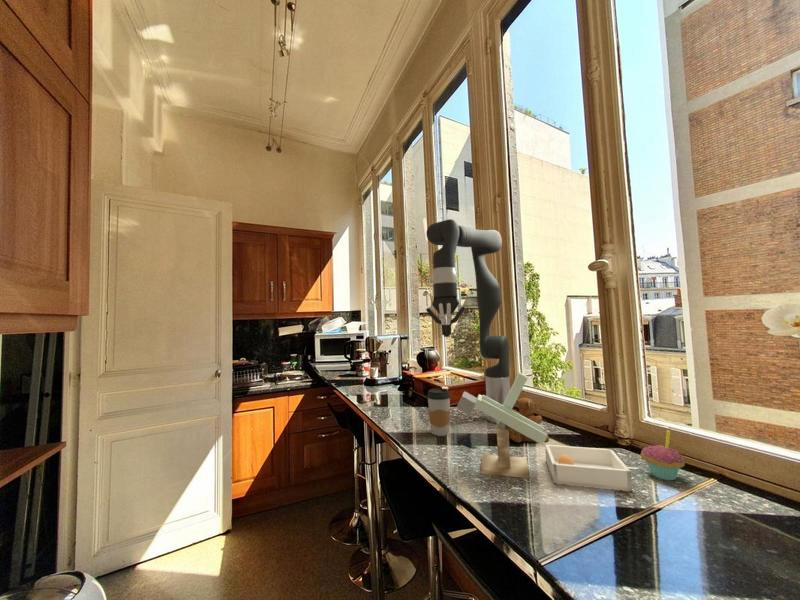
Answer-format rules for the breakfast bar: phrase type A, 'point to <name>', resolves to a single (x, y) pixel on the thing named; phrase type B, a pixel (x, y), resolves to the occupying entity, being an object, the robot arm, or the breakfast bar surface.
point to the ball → (565, 460)
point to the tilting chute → (505, 411)
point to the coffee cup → (439, 411)
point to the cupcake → (663, 460)
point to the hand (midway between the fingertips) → (446, 336)
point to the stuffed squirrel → (527, 411)
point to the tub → (588, 468)
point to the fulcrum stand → (504, 459)
